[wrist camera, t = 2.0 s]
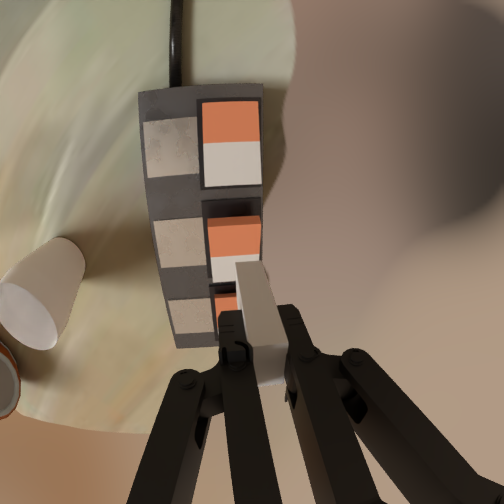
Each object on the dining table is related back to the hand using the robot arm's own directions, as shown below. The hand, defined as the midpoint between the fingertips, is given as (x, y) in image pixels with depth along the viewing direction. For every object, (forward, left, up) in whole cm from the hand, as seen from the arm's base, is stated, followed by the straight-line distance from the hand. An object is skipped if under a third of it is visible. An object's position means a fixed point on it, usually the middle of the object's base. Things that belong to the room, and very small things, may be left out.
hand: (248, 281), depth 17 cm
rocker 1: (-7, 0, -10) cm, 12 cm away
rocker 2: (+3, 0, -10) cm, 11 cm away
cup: (+6, -22, -16) cm, 28 cm away
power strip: (-3, -3, -16) cm, 16 cm away
